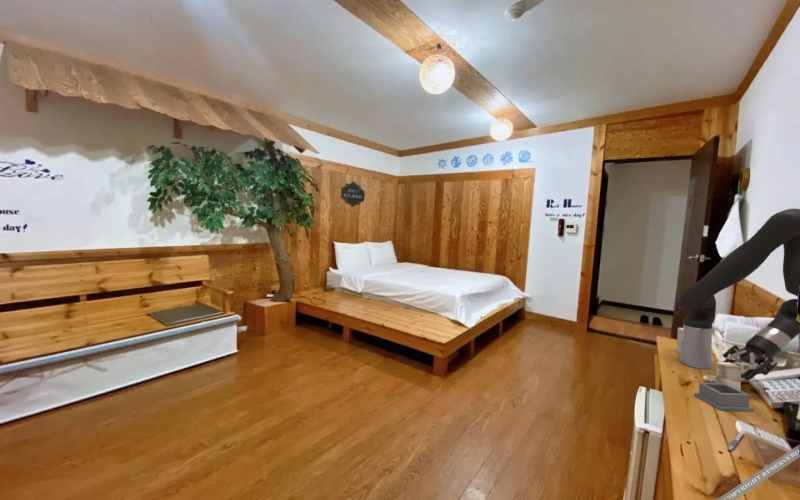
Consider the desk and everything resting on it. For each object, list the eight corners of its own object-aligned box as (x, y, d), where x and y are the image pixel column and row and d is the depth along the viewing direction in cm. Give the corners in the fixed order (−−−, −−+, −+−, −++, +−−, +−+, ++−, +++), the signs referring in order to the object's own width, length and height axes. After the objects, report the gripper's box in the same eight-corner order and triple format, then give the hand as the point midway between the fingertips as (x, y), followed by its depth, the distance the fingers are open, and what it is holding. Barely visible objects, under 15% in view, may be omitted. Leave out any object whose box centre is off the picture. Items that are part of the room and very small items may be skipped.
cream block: (716, 388, 119) (716, 362, 119) (728, 389, 119) (729, 362, 118) (727, 394, 115) (727, 366, 114) (740, 395, 114) (741, 367, 114)
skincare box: (681, 355, 154) (681, 329, 153) (676, 351, 158) (676, 327, 157) (697, 356, 152) (697, 330, 151) (691, 353, 156) (692, 328, 156)
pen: (745, 436, 91) (745, 431, 91) (731, 454, 84) (731, 449, 84) (740, 434, 92) (740, 429, 92) (726, 452, 85) (726, 446, 85)
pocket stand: (694, 395, 114) (694, 381, 114) (725, 396, 113) (725, 382, 113) (720, 410, 104) (720, 395, 104) (753, 411, 103) (754, 396, 103)
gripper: (740, 329, 122) (707, 358, 124) (782, 341, 108) (744, 374, 109) (755, 343, 122) (722, 372, 123) (799, 357, 108) (761, 390, 109)
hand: (732, 373), depth 116 cm, fingers open, 8 cm apart
